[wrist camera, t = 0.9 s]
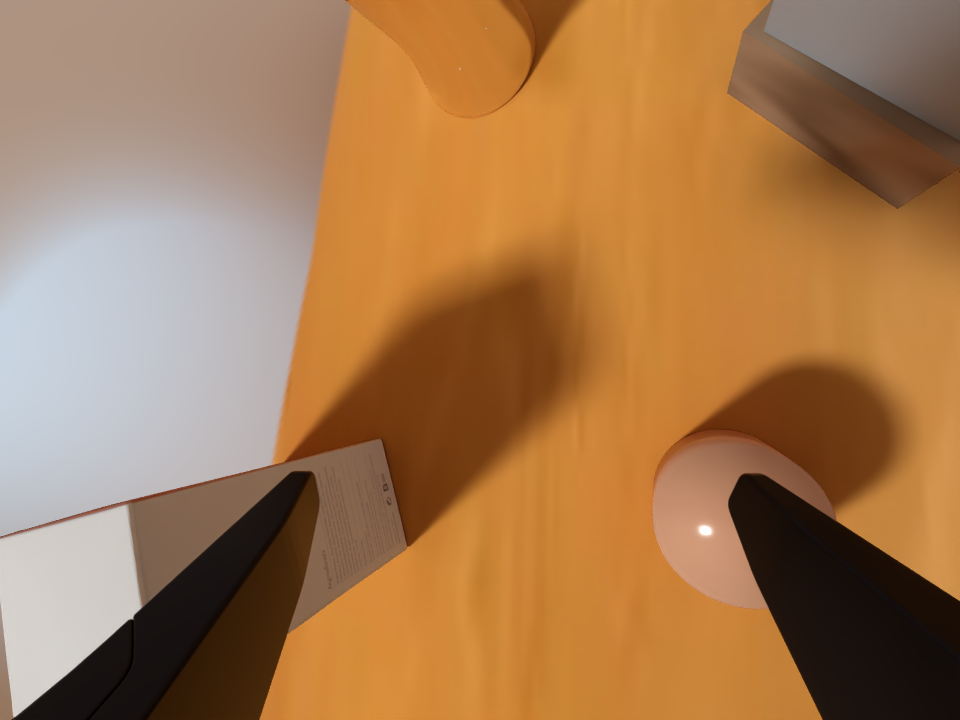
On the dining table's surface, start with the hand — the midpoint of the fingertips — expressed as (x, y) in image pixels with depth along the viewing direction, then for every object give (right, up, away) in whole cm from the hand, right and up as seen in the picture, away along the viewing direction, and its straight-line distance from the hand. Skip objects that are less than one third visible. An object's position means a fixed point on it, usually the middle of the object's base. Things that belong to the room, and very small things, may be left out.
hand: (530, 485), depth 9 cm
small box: (-9, -6, +17) cm, 20 cm away
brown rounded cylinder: (+9, -3, +9) cm, 14 cm away
